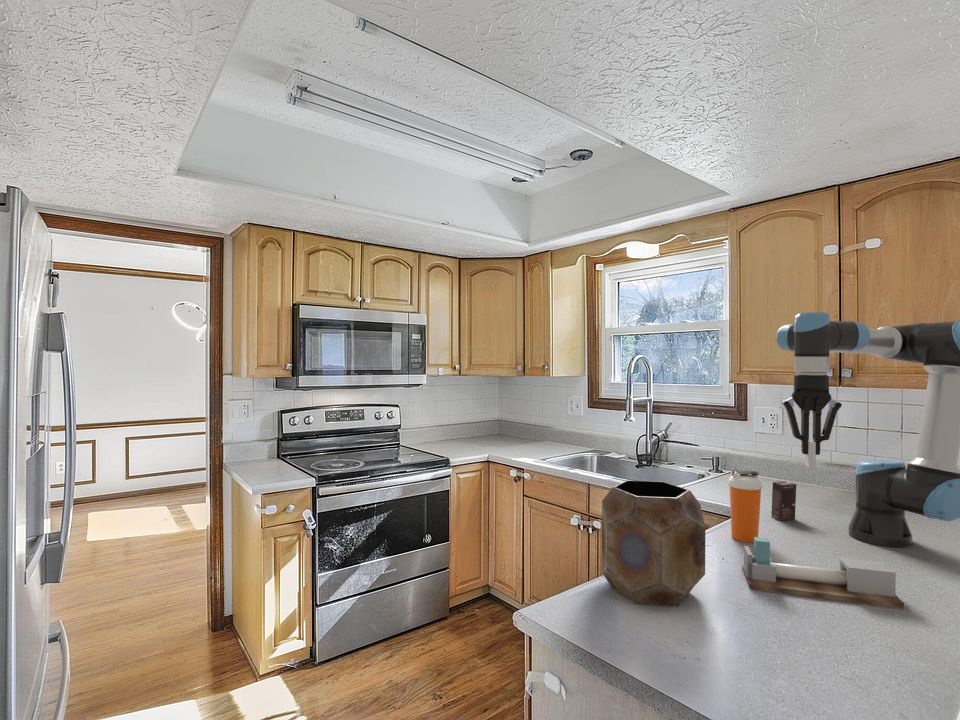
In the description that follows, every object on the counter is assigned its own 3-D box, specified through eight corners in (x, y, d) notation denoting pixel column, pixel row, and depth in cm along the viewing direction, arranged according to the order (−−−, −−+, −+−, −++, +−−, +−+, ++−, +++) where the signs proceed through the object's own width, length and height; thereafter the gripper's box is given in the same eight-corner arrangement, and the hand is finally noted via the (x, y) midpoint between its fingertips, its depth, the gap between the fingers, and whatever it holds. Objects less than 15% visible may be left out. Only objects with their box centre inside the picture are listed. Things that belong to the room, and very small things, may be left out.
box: (781, 521, 173) (782, 484, 173) (771, 517, 177) (771, 481, 177) (796, 519, 175) (797, 483, 174) (785, 515, 179) (785, 480, 179)
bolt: (846, 582, 124) (846, 546, 124) (850, 588, 121) (851, 550, 121) (753, 571, 130) (753, 536, 130) (755, 576, 127) (756, 541, 127)
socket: (770, 572, 130) (771, 548, 130) (775, 582, 124) (776, 557, 124) (743, 569, 132) (744, 546, 132) (747, 578, 126) (747, 554, 126)
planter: (579, 579, 129) (579, 482, 128) (659, 564, 138) (659, 473, 138) (638, 622, 108) (639, 507, 108) (727, 601, 117) (728, 495, 117)
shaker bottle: (765, 544, 152) (766, 475, 152) (732, 542, 154) (733, 474, 153) (756, 534, 161) (756, 468, 160) (724, 532, 162) (725, 467, 162)
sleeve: (884, 585, 122) (885, 562, 122) (895, 596, 117) (895, 572, 117) (839, 580, 125) (839, 557, 125) (847, 591, 120) (848, 567, 120)
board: (882, 585, 125) (882, 580, 125) (904, 609, 114) (904, 603, 114) (742, 569, 135) (742, 564, 135) (749, 589, 123) (749, 583, 123)
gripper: (836, 373, 134) (836, 466, 135) (778, 373, 138) (778, 462, 139) (846, 374, 127) (845, 472, 127) (785, 374, 131) (784, 468, 132)
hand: (810, 467), depth 133 cm, fingers closed
